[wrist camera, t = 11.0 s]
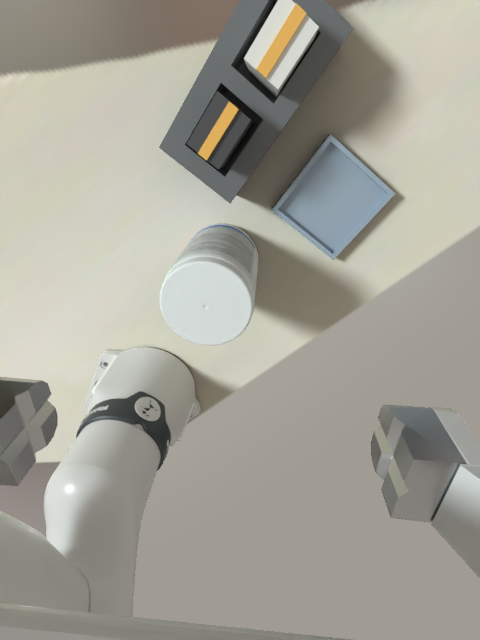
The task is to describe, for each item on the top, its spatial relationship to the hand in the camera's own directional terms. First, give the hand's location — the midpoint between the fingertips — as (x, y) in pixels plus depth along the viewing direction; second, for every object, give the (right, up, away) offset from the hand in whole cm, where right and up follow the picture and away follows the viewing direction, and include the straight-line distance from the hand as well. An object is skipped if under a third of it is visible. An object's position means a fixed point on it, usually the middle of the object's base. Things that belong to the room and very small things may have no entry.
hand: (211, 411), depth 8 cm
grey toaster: (+2, +26, +29) cm, 39 cm away
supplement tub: (-1, +11, +38) cm, 39 cm away
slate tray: (+12, +17, +33) cm, 39 cm away
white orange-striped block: (+5, +28, +26) cm, 38 cm away
